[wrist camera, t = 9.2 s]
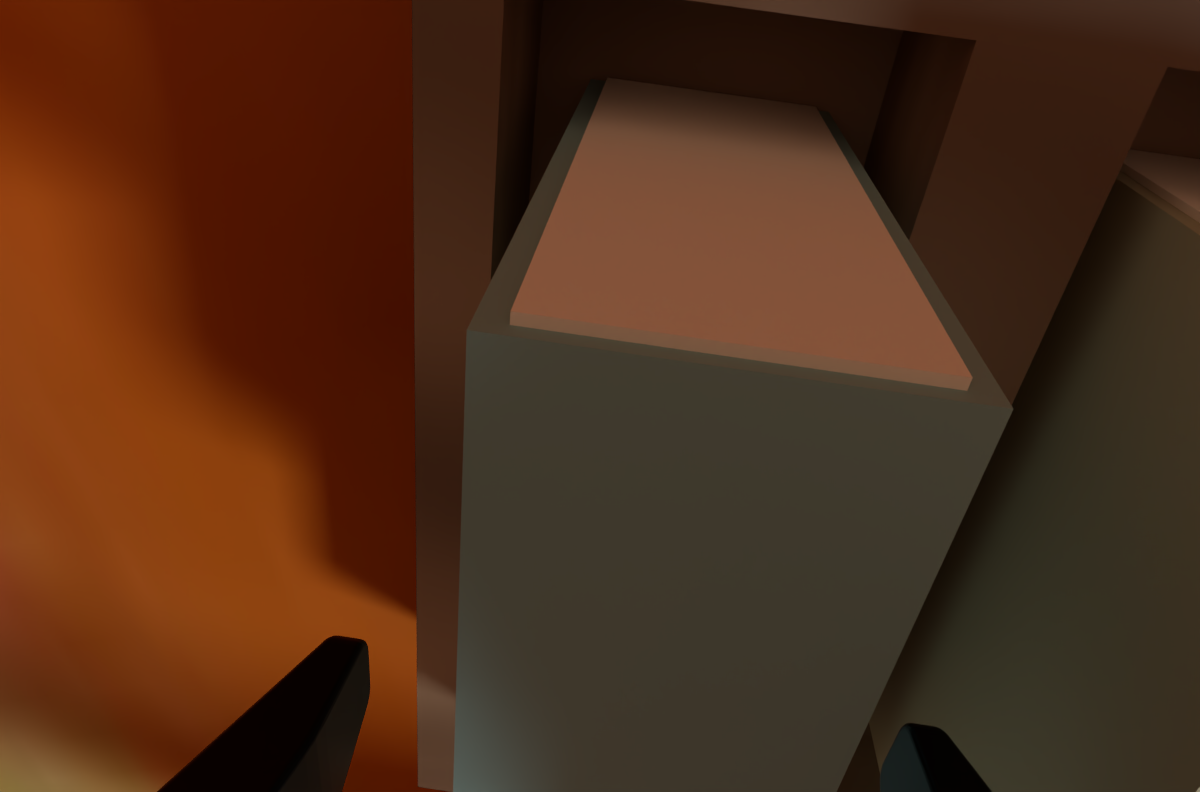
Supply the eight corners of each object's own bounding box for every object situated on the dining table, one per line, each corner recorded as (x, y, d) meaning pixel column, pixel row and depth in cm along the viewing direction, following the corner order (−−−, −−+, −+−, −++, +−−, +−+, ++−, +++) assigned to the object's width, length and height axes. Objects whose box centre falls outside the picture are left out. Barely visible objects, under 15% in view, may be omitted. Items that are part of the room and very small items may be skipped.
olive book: (1014, 676, 18) (1196, 1117, 11) (853, 652, 18) (946, 1077, 11) (1312, 171, 12) (2044, 506, 5) (1070, 137, 12) (1511, 430, 5)
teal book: (696, 628, 18) (701, 1084, 11) (537, 605, 18) (445, 1043, 11) (830, 105, 12) (1018, 396, 5) (591, 72, 12) (465, 315, 5)
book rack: (1327, 772, 20) (1453, 946, 16) (461, 641, 20) (417, 786, 17) (2028, 70, 11) (2580, 146, 8) (488, -142, 11) (410, -151, 8)
